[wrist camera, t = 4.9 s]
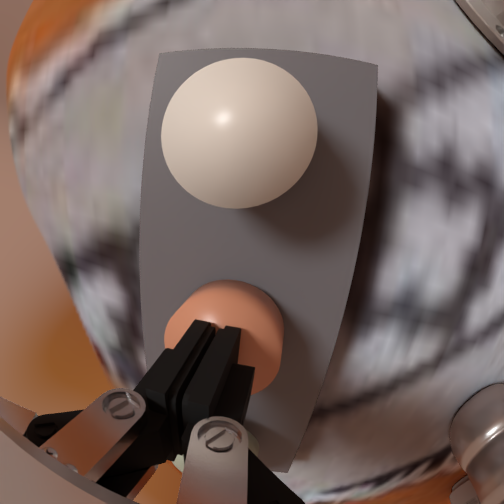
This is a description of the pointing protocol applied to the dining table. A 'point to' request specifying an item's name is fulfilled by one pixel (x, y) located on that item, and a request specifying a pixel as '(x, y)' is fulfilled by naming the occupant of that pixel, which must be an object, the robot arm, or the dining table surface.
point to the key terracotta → (236, 324)
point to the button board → (267, 234)
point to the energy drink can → (464, 493)
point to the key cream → (239, 133)
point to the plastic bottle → (482, 442)
